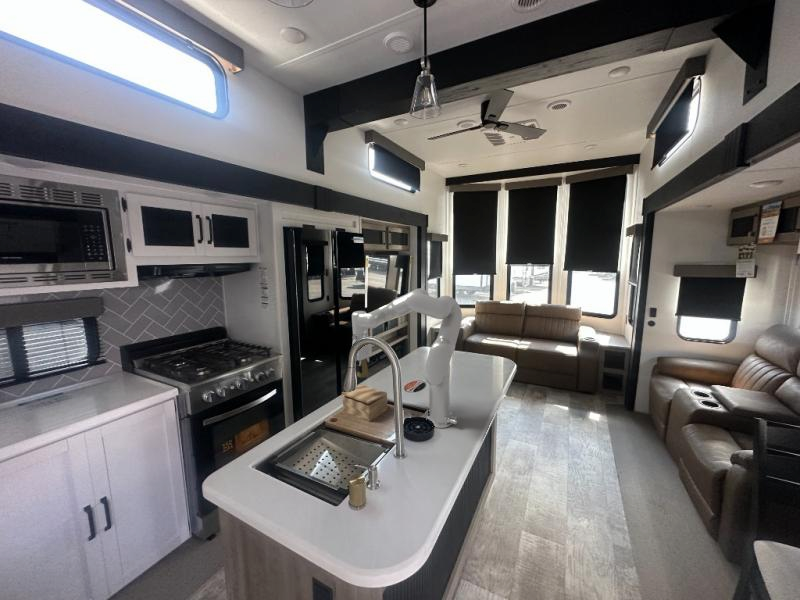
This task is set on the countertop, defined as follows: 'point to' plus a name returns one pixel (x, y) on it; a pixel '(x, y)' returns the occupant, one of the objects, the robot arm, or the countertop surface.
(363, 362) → the tan tapered cylinder
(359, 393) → the box lid
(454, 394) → the countertop surface
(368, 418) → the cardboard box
